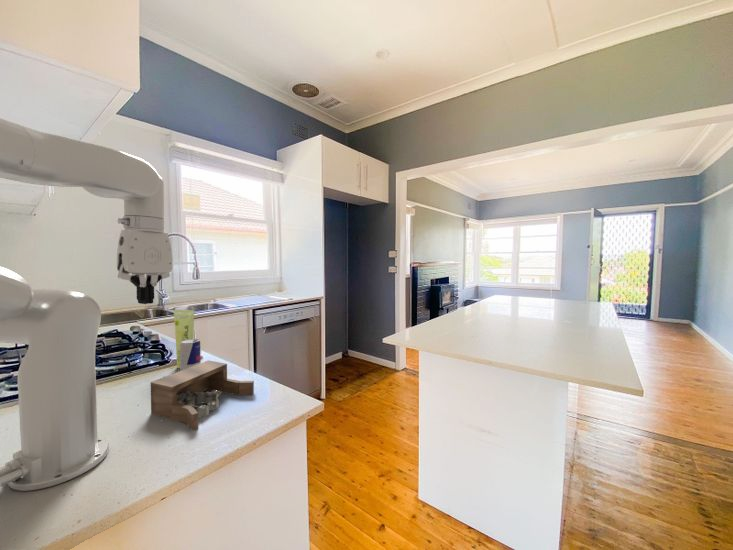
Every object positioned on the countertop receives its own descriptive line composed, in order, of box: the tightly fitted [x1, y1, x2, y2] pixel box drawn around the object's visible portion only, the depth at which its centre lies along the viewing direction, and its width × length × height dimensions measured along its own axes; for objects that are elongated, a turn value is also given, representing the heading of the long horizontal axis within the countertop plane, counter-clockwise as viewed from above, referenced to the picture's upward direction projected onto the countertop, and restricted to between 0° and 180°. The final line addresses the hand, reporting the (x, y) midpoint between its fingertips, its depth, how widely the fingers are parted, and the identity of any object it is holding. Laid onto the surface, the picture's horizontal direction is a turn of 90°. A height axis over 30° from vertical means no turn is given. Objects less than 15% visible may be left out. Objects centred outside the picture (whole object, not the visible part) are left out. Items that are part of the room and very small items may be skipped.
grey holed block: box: [177, 390, 222, 419], centre depth 74 cm, size 11×8×4 cm
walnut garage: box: [150, 360, 255, 431], centre depth 76 cm, size 19×16×8 cm
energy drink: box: [179, 338, 202, 371], centre depth 91 cm, size 5×5×12 cm
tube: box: [172, 309, 195, 369], centre depth 101 cm, size 6×5×20 cm
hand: (145, 303), depth 71 cm, fingers closed
